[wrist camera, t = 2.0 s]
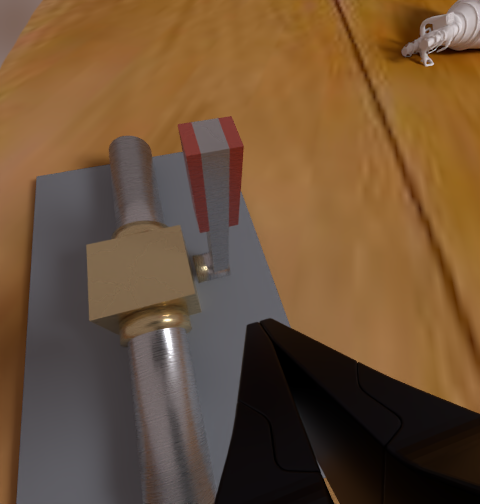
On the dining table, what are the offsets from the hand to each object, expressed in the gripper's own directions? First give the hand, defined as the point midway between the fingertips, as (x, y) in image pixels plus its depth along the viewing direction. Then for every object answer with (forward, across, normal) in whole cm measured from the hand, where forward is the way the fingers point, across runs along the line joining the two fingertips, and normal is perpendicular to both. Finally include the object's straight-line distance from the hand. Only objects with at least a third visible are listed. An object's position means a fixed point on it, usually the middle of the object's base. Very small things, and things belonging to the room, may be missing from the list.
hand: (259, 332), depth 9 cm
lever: (+11, 0, +2) cm, 12 cm away
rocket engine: (+34, -43, -16) cm, 57 cm away
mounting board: (+13, +5, +4) cm, 14 cm away
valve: (+13, +5, +4) cm, 14 cm away
